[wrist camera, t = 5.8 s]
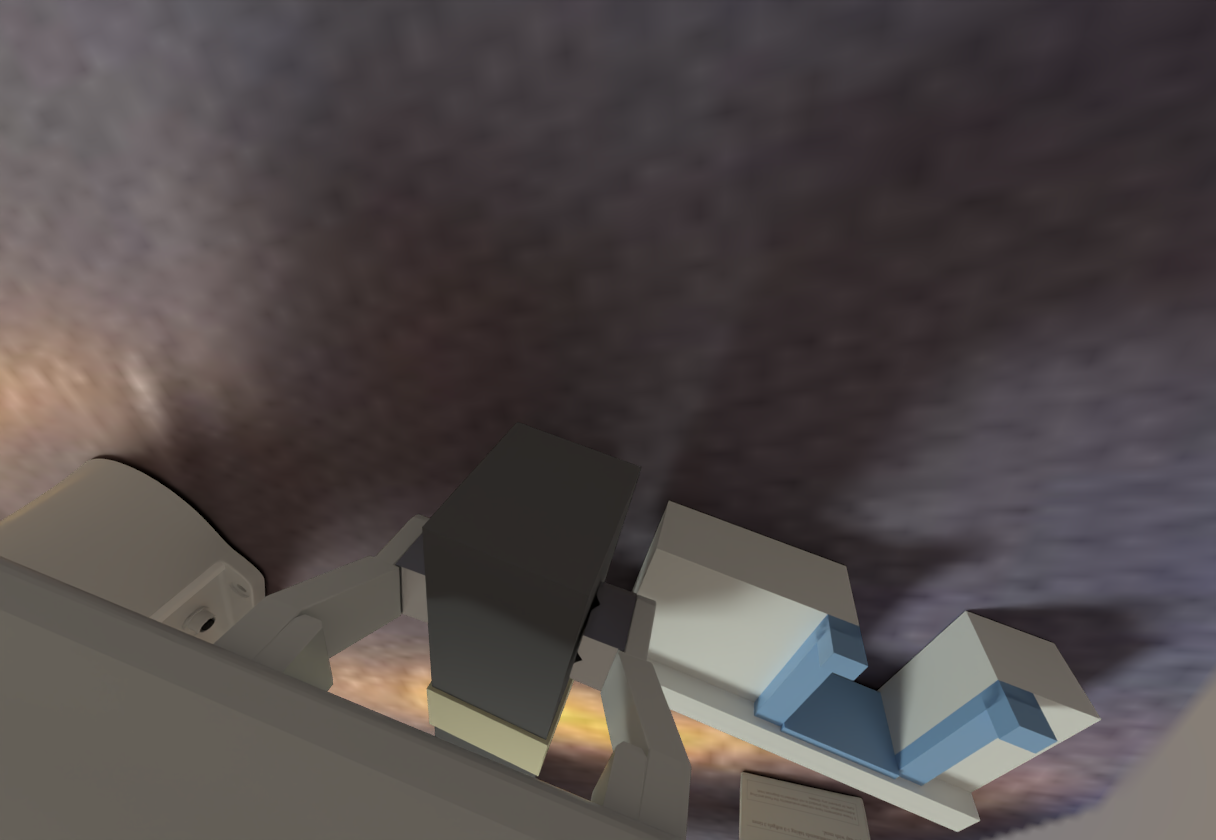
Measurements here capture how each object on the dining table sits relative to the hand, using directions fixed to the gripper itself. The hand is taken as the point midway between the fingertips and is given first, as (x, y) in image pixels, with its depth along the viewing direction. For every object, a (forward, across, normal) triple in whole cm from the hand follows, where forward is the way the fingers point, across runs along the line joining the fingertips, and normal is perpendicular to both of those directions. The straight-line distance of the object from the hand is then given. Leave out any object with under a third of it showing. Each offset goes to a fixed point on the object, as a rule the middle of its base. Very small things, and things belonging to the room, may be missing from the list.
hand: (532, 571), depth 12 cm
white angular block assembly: (+8, -8, +7) cm, 14 cm away
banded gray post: (+2, 0, +3) cm, 4 cm away
